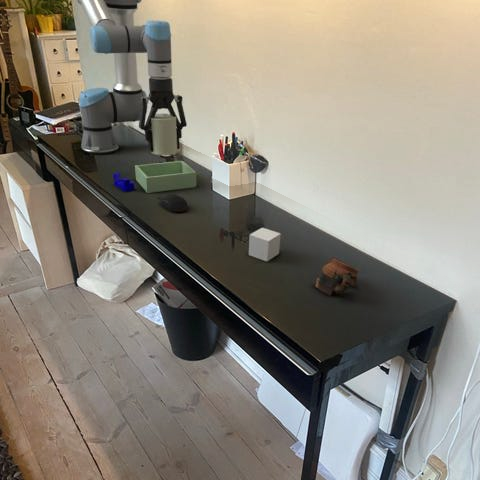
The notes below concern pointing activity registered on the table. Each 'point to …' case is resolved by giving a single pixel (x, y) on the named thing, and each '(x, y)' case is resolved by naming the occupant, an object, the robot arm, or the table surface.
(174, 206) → the gaming mouse
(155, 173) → the bin
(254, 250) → the white cube
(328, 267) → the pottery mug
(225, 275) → the table surface
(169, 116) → the can
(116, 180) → the cable holder
